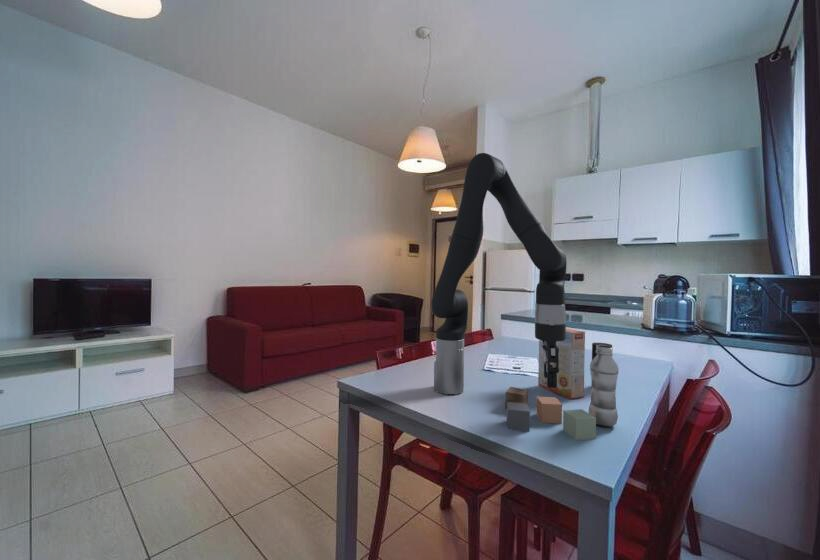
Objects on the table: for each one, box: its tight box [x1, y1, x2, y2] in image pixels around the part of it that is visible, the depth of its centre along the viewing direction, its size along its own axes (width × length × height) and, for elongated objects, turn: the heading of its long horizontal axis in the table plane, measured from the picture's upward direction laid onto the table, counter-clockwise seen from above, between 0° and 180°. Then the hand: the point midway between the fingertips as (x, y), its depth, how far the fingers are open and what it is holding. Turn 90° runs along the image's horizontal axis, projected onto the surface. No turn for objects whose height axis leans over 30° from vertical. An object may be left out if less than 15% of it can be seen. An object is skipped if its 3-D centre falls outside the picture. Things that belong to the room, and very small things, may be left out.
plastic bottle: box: [588, 345, 620, 428], centre depth 84 cm, size 6×7×20 cm
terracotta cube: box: [536, 396, 563, 425], centre depth 87 cm, size 5×5×5 cm
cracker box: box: [537, 327, 586, 400], centre depth 108 cm, size 14×6×21 cm, turn 22°
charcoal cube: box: [506, 402, 531, 432], centre depth 83 cm, size 5×5×5 cm
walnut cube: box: [505, 386, 529, 410], centre depth 94 cm, size 5×5×5 cm
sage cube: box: [562, 408, 597, 441], centre depth 79 cm, size 5×5×5 cm
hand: (550, 382), depth 87 cm, fingers open, 8 cm apart
